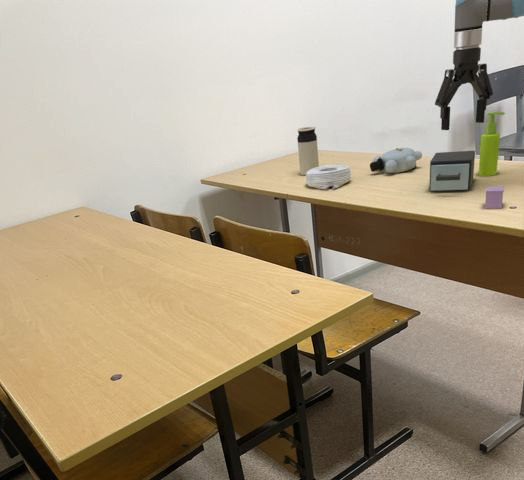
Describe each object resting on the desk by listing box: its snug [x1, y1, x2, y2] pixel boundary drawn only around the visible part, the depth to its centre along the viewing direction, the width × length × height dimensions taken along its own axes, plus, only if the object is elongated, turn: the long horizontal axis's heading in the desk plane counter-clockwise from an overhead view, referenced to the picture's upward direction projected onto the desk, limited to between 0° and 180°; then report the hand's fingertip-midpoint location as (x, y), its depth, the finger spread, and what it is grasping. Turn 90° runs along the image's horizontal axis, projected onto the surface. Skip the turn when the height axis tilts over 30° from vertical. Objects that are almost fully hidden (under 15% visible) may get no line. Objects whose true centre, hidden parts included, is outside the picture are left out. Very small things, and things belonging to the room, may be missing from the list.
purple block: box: [484, 186, 505, 210], centre depth 152 cm, size 4×4×5 cm
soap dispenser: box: [478, 111, 506, 177], centre depth 181 cm, size 6×7×20 cm
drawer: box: [431, 162, 469, 191], centre depth 172 cm, size 18×11×8 cm, turn 158°
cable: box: [304, 164, 352, 191], centre depth 202 cm, size 18×18×6 cm
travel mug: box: [296, 126, 320, 176], centre depth 221 cm, size 8×8×18 cm
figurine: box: [369, 147, 423, 174], centre depth 208 cm, size 17×8×20 cm
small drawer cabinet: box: [428, 150, 476, 193], centre depth 176 cm, size 15×13×10 cm
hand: (462, 126), depth 164 cm, fingers open, 13 cm apart
